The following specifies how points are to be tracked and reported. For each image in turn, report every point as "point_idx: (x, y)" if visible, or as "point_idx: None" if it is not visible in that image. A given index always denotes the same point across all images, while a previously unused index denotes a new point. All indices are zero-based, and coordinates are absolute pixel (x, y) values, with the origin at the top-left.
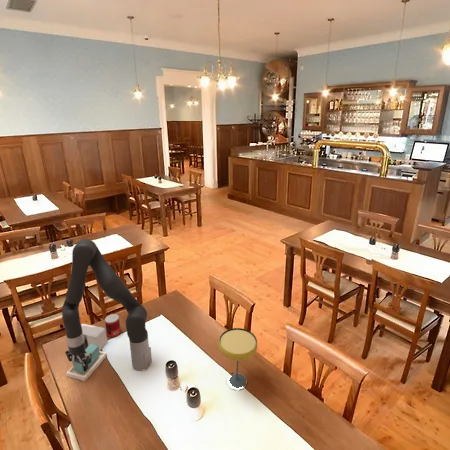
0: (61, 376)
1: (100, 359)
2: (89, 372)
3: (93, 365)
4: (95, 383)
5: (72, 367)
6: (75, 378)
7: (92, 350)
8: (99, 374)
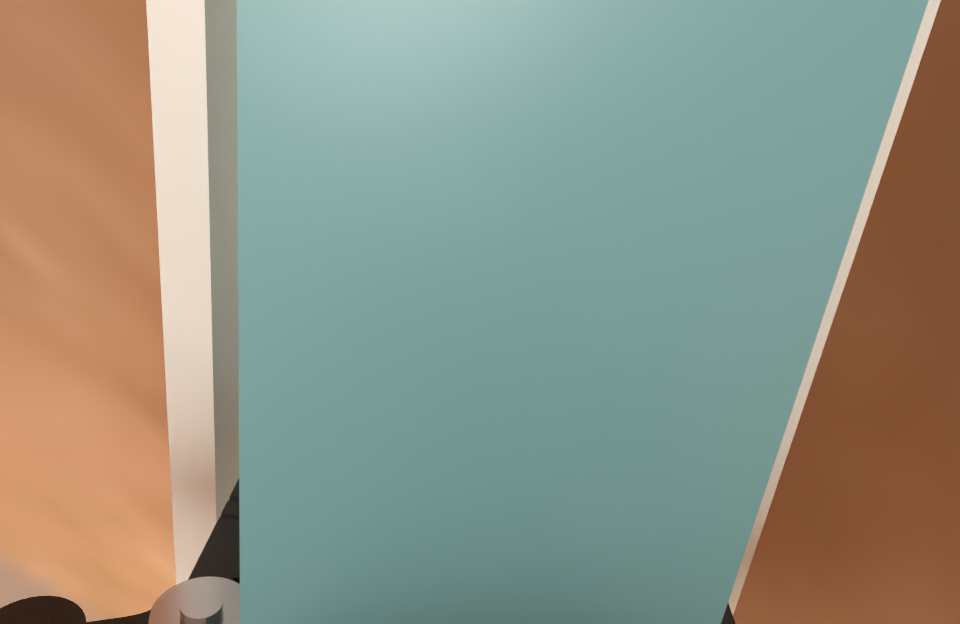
0: (94, 551)
1: (914, 63)
2: (747, 546)
3: None
4: (920, 613)
5: (198, 489)
6: None
7: (759, 175)
8: (933, 409)
